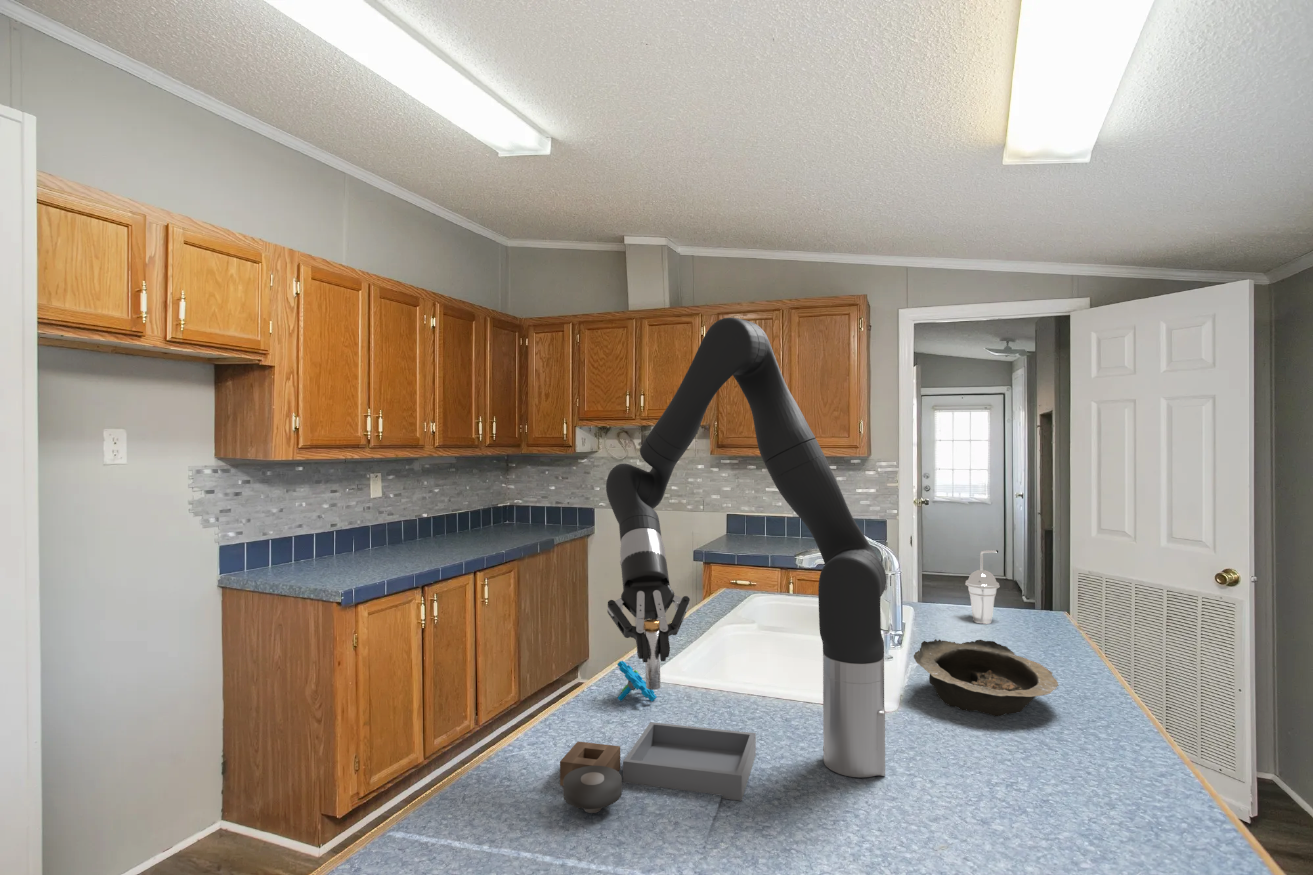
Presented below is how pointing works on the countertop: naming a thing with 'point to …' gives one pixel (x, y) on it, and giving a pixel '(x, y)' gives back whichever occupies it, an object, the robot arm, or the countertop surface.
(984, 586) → the cup with straw
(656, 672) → the lock pin
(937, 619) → the countertop surface
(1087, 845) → the countertop surface
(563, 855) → the countertop surface
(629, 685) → the gear
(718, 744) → the tray
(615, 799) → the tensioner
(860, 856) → the countertop surface
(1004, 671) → the stone bowl
